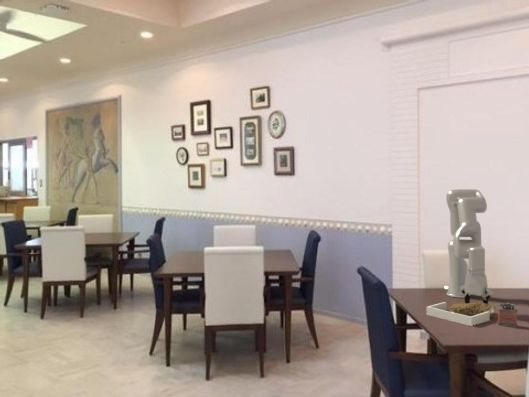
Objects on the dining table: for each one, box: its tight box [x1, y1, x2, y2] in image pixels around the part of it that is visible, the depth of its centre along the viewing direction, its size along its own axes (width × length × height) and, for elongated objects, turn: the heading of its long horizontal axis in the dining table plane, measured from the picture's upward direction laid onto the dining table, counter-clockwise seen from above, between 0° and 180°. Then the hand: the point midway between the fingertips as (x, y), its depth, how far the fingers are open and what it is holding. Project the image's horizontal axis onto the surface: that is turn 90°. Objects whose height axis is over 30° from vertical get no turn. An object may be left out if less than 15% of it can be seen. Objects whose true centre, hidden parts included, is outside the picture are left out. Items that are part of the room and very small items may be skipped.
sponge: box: [449, 302, 496, 319], centre depth 245 cm, size 13×8×20 cm
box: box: [425, 301, 490, 327], centre depth 244 cm, size 24×15×4 cm, turn 36°
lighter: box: [497, 302, 518, 327], centre depth 230 cm, size 8×3×10 cm, turn 71°
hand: (476, 305), depth 254 cm, fingers open, 9 cm apart
